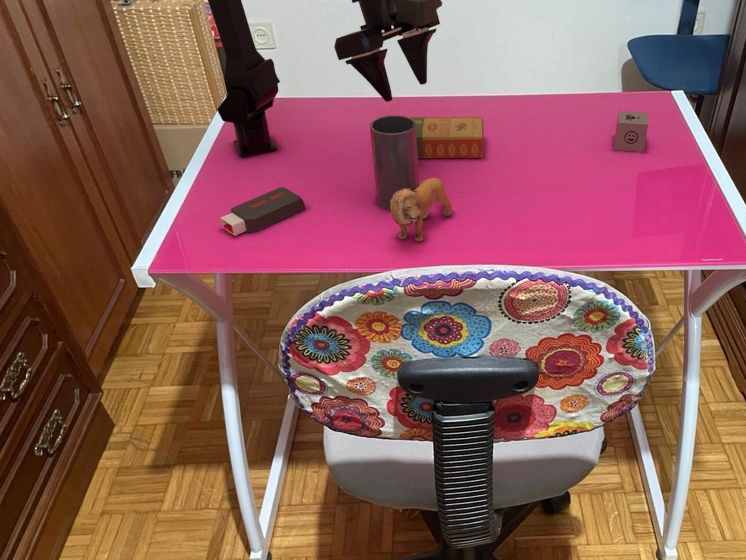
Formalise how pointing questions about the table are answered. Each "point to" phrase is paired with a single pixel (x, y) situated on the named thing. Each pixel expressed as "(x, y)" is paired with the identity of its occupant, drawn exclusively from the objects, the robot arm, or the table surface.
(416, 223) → the lion figurine
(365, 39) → the robot arm
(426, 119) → the carton
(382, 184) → the pen pot
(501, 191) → the table surface
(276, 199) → the usb drive
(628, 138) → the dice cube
